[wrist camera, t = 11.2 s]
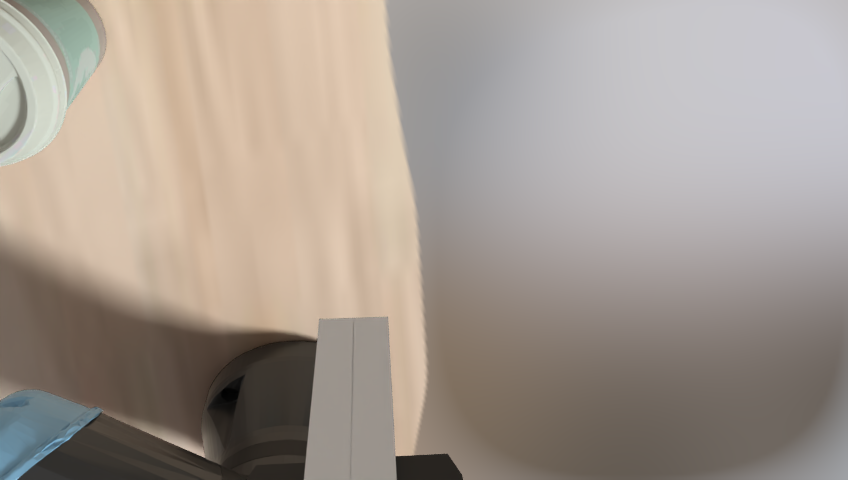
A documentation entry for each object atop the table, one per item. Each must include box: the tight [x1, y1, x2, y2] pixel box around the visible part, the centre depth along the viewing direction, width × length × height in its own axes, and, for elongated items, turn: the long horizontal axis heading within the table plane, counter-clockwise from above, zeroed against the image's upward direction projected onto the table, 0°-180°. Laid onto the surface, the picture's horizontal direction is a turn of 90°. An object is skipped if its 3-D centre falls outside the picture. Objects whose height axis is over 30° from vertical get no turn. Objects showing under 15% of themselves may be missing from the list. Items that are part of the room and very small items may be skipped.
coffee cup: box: [0, 0, 106, 166], centre depth 35 cm, size 8×8×12 cm
